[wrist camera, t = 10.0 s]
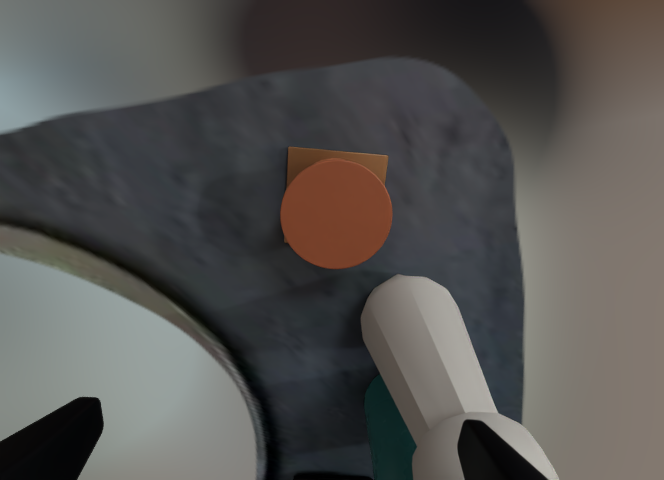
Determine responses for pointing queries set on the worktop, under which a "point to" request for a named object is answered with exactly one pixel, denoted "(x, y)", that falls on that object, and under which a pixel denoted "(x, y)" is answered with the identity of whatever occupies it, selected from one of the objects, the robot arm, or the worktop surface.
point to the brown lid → (336, 214)
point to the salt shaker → (435, 375)
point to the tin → (387, 434)
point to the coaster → (308, 157)
